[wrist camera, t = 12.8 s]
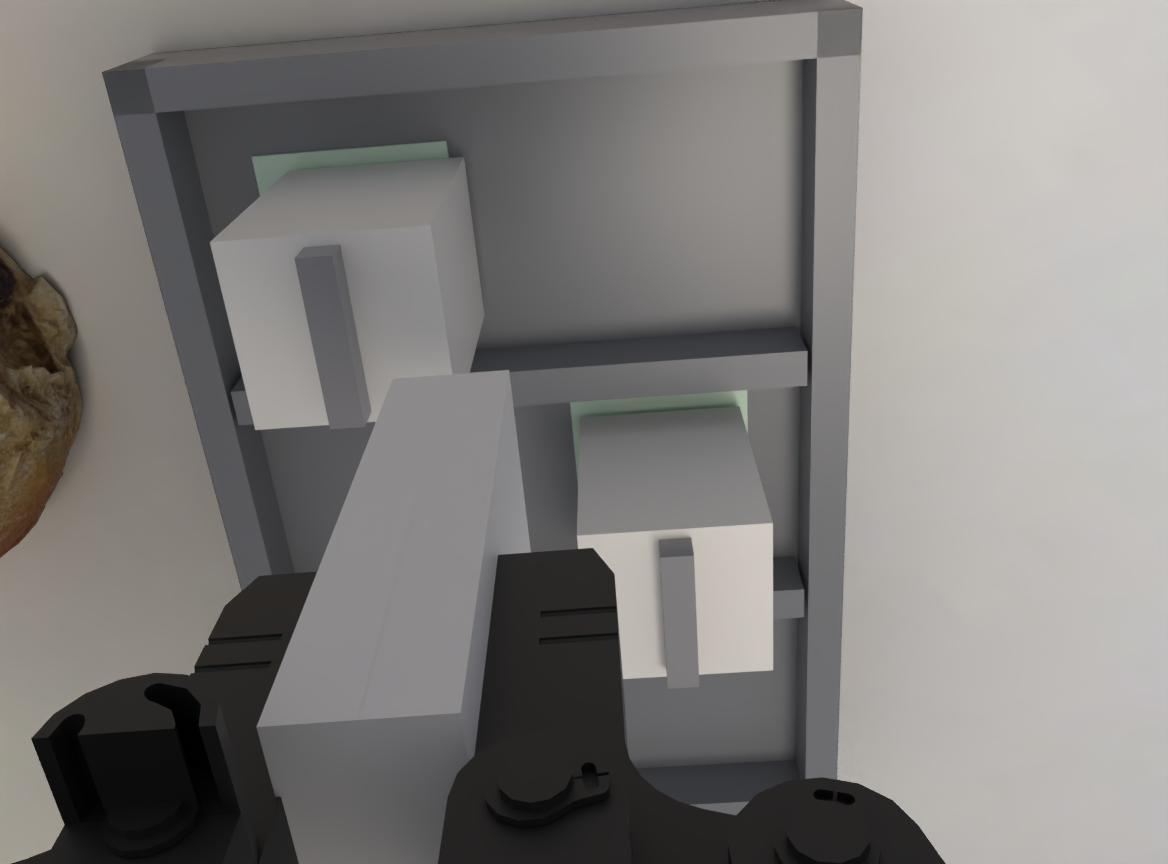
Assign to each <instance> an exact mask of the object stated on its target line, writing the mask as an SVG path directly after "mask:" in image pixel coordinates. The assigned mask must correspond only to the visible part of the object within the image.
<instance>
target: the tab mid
mask: <svg viewBox="0 0 1168 864" xmlns="http://www.w3.org/2000/svg"><path fill="white" fill-rule="evenodd" d="M577 543H578V549H584V548H593V549H594V550H595V551H596V552H597V553H598V555H599V556H600V557H601V558H602V559H603V561H604V562H605V563H606V564H607V565H608V567H609V568H610V569H611V570H612V571H613V573H614V574H615V586H616V599H617V611H618V623H619V636H620V648H621V661H622V673H623V679H634V678H651V677H667V683H668V689H672V688H689V687H699V675H702V674H719V673H736V672H753V671H770V670H773V521H772V518H771V514H770V511H769V507H768V504H767V500H766V497H765V493H764V490H763V486H762V483H761V479H760V476H759V472H758V469H757V465H756V462H755V458H754V455H753V451H752V448H751V444H750V441H749V437H748V434H747V431H746V427H745V424H744V420H743V417H742V413H741V410H740V406H737V407H723V408H708V409H694V410H679V411H665V412H650V413H636V414H621V415H607V416H592V417H580V429H579V469H578V509H577Z"/></svg>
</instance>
